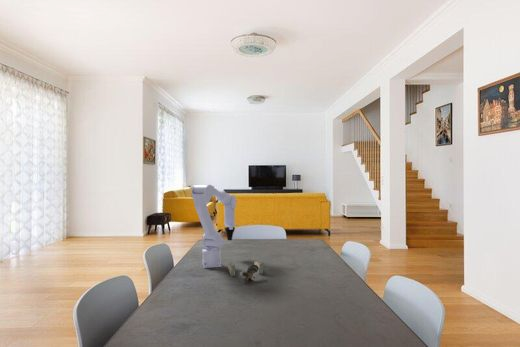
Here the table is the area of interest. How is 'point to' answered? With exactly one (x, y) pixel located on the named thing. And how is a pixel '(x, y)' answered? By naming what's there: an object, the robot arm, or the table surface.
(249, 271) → the eagle figurine
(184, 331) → the table surface
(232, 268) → the wooden matchsticks
